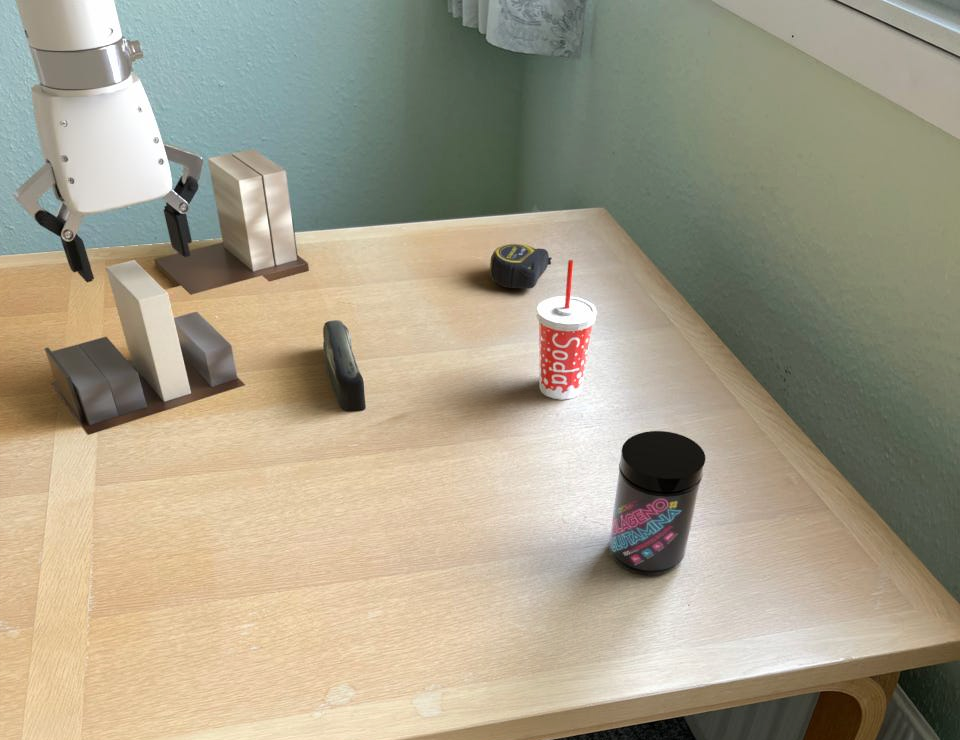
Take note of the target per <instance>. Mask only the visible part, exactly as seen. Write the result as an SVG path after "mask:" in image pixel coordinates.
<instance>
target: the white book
mask: <svg viewBox="0 0 960 740" xmlns="http://www.w3.org/2000/svg"><path fill="white" fill-rule="evenodd" d="M105 270H106V273H107V277H108V280H109V284H110V288H111V291H112V295H113V299H114V302H115V306H116V310H117V313H118V317H119V321H120V324H121V329H122V332H123V336H124V339H125V342H126V347H127V351H128V354H129V357H130V358H129V359H131V361H132V365H133V366H134V367H135V369H136V370H137V371H138V372H139V373H140V374H141V376H142V377H143V378H144V379H145V380H146V381H147V383H148V384H149V385H150V386H151V387H152V388H153V390H154V391H155V392H156V393H157V394H158V395H159V397H160V398H161V399H162V400H163V401H164V402H166V401H169V400H172V399H175V398H178V397H182V396H185V395H188V394H191V391H190V387H189V382H188V378H187V374H186V370H185V365H184V361H183V357H182V352H181V348H180V344H179V339H178V335H177V331H176V326H175V322H174V318H175V317H174V313H173V310H172V305H171V300H170V296H169V293H168V291H166V290H165V289H164V288H163V287H162V286H161V285H160V284H159V283H158V281H157V280H155V279H154V278H153V277H152V276H151V275H150V274H149V273H148V272H147V271H146V270H145V269H144V268H143V266H141V265H140V264H139V263H138V262H137V261H136V260H135V259H132V260H129V261H125V262H119V263H115V264H112V265H108V266H105Z"/></svg>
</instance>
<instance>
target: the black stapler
mask: <svg viewBox="0 0 960 740" xmlns="http://www.w3.org/2000/svg"><path fill="white" fill-rule="evenodd" d="M322 337H323V342H322V343H323V344H322V345H323V355H324V356H323V357H324V363H325V368H326V372H327V375H328V377H329V380H330V384H331V388H332V390H333V392H334V395H335V398H336V400H337V403H338V406H339V408H340V410H342V411H344V412H347V413H354V412H356V413H357V412H363V411H365V410H366V408H367V405H366V395H365V394H366V393H365V382H364V378H363V376H362V374H361V372H360V369H359V367H358V364H357V362H356V357H355V356H354V353H353V349H352V339H351V334H350V331H349V328H348V327H347V326H346V325H345V324H344V323H343V322H342V321H341V320H338V319H337V320H336V319H335V320H334V319H333V320H328V321H326V322H325V323H324V324H323V327H322Z"/></svg>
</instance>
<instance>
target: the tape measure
mask: <svg viewBox="0 0 960 740" xmlns="http://www.w3.org/2000/svg"><path fill="white" fill-rule="evenodd" d="M552 258H553V257H550V255H549V252H548V250H546V249H545V248H538V247H537V248H534V247H532V246H530V245H528V244H527V245H526V244H523V243H508V244H504V245H501V246H499V247H497V248H496V249H495V250H494V251H493V252H492V254H491V257H490V264H489V266H490V267H489V272H490V273H489V274H490V277H491V279H492V280H493V281H494V282H495V283H496V284H498V285H500V286H502V287H505V288H509V289H533V288H535V287H536V285H537V283H538V280H539V279H540V278H541V276H543V274H544V273H545V272H546V270H547V268H548V266H550V265H551V264H552Z"/></svg>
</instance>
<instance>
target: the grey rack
mask: <svg viewBox="0 0 960 740" xmlns="http://www.w3.org/2000/svg"><path fill="white" fill-rule="evenodd" d="M173 318H174V322H175V326H176V331H177V335H178V339H179V344H180V348H181V352H182V357H183V361H184V365H185V370H186V374H187V378H188V382H189V387H190V391H191V394H188V395H185V396H182V397H178V398H175V399H172V400H169V401H166V402H164V401H163V400H162V399H161V398H160V397H159V395H158V394H157V393H156V392H155V391H154V390H153V388H152V387H151V386H150V385H149V384H148V383H147V381H146V380H145V379H144V378H143V377H142V376H141V374H140V373H139V372H138V371H137V370H136V369H135V367H134V366H133V365H132V361H131V358H129V359H127V358H125V356H124V355H123V354H122V353H121V351H119V349H118V348H117V347H116V346H115V344H114V343H113V342H112V341H111V340H110V339H109V338H108V336H103V337H100V338H95V339H91V340H88V341H84V342H81V343H78V344H74V345H70V346H67V347H63V348H59V349H56V350H51V349H50V348H49V347H45V348H44V351H45V354H46V358H47V360H48V364H49V366H50V369H51V372H52V375H53V377H54V381H51V382H50V385H51V386H52V387H53V389H54V390H55V392H56V393H57V395H58V396H59V397H60V399H61V401H63V403H64V404H65V406H66V407H67V408H68V409H69V411H70V412H71V414H72V415H73V416H74V418H75V419H76V420H77V422H78V423H79V425H80V426H81V427H82V429H83V430H84V432H85V433H86V435H87V436H89V435H93V434H96V433H100V432H102V431H105V430H108V429H111V428H112V429H113V428H115V427H119V426H121V425H124V424H128V423H131V422H134V421H137V420H140V419H143V418H147V417H149V416H153V415H156V414H159V413H162V412H165V411H169V410H172V409H175V408H178V407H181V406H184V405H187V404H191V403H195V402H197V401H200V400H204V399H207V398H209V397H212V396H216V395H219V394H222V393H226V392H229V391H231V390H235V389H239V388H241V387H245V386H246V384H245V383H244V381H242V380H241V378H240V377H239V376H238V373H237V368H236V361H235V357H234V352H233V347H232V343H230V342H229V341H228V340H227V339H226V338H225V337H224V336H223V335H222V334H221V333H220V332H219V331H218V330H217V329H215V328H214V326H213V325H211V323H209V322H208V321H207V320H206V319H205V318H204V317H203V316H202V315H201V314H200V313H199V312H198V311H193V312H190V313H185V314H183V315H179V316H175V317H173Z"/></svg>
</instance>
